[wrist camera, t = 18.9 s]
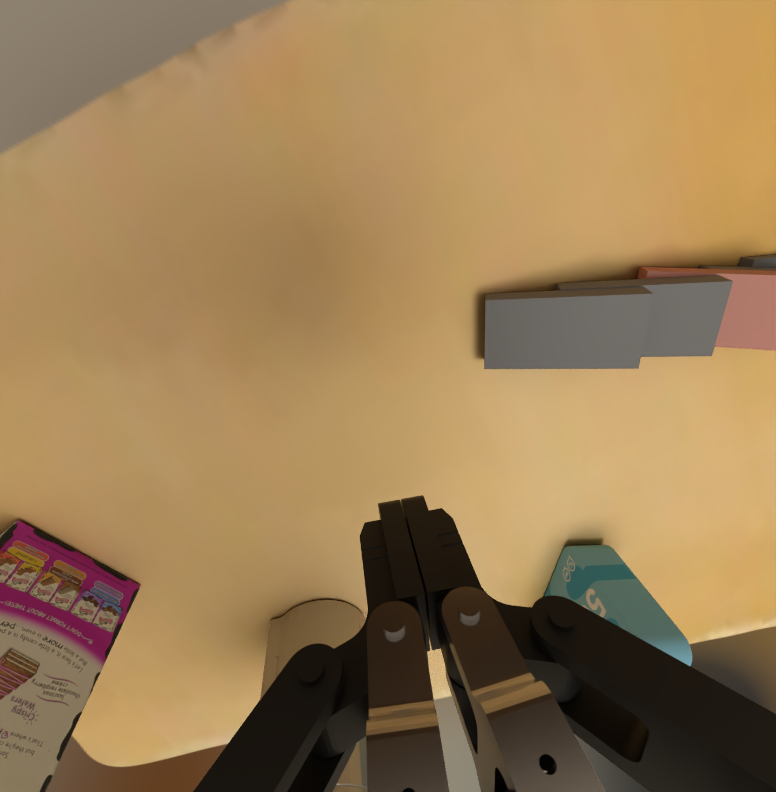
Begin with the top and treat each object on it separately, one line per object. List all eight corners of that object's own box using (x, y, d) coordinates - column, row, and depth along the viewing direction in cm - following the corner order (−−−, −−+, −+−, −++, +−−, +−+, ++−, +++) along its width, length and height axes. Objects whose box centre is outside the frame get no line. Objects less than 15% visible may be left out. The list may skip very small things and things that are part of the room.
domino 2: (554, 357, 30) (711, 355, 27) (560, 289, 27) (733, 281, 25) (550, 348, 31) (699, 346, 29) (556, 283, 29) (718, 275, 27)
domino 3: (628, 340, 30) (788, 351, 28) (647, 271, 28) (823, 276, 25) (622, 333, 31) (773, 342, 29) (639, 266, 29) (805, 271, 27)
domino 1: (484, 368, 29) (638, 368, 27) (485, 300, 27) (653, 293, 25) (484, 359, 31) (630, 358, 29) (485, 293, 29) (643, 286, 26)
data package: (566, 538, 41) (650, 658, 31) (605, 537, 42) (701, 653, 31) (534, 616, 46) (597, 742, 36) (570, 614, 47) (642, 736, 36)
